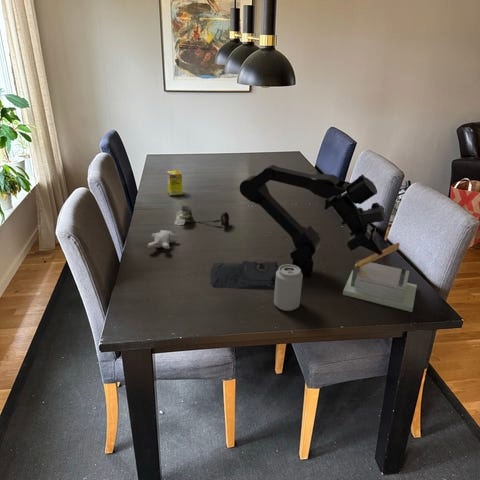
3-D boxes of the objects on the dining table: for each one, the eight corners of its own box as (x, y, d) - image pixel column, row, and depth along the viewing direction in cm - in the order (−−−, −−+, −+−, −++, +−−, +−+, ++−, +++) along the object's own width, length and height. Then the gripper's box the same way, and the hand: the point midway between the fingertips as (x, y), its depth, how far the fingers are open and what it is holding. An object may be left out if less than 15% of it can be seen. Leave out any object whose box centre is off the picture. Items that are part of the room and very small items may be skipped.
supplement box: (182, 195, 205) (182, 173, 201) (170, 197, 203) (169, 174, 199) (179, 191, 210) (178, 170, 206) (167, 193, 208) (166, 171, 204)
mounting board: (342, 294, 131) (343, 290, 130) (351, 274, 142) (352, 270, 142) (412, 312, 123) (413, 307, 123) (415, 288, 135) (416, 284, 134)
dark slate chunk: (211, 265, 146) (211, 253, 144) (276, 267, 146) (277, 254, 144) (209, 289, 132) (209, 276, 130) (280, 291, 132) (281, 278, 130)
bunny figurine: (179, 228, 162) (171, 240, 148) (179, 240, 163) (171, 254, 149) (154, 226, 162) (144, 239, 148) (155, 239, 164) (144, 253, 150)
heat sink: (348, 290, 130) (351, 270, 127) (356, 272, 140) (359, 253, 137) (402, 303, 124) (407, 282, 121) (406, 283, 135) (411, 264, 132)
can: (297, 298, 128) (300, 262, 123) (301, 312, 121) (305, 275, 116) (272, 297, 128) (274, 262, 123) (274, 312, 121) (277, 275, 116)
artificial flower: (224, 235, 170) (220, 215, 164) (173, 232, 177) (167, 213, 171) (231, 221, 177) (227, 201, 170) (181, 219, 184) (175, 200, 177)
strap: (355, 270, 132) (353, 267, 131) (357, 265, 134) (355, 262, 134) (398, 249, 123) (396, 246, 123) (400, 244, 126) (397, 241, 126)
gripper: (365, 207, 115) (400, 253, 116) (376, 188, 130) (407, 228, 131) (332, 228, 121) (366, 271, 122) (346, 207, 137) (376, 246, 137)
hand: (380, 253), depth 128 cm, fingers closed, pressing on strap
